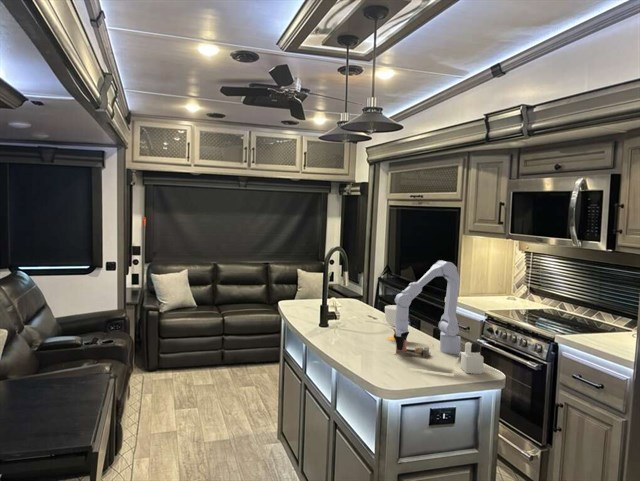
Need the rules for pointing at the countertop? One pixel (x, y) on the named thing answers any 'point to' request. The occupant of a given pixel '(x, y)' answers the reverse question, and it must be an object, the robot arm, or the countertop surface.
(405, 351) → the block
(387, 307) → the cup
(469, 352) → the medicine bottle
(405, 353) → the cracker bench
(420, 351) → the cylinder
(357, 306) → the countertop surface
